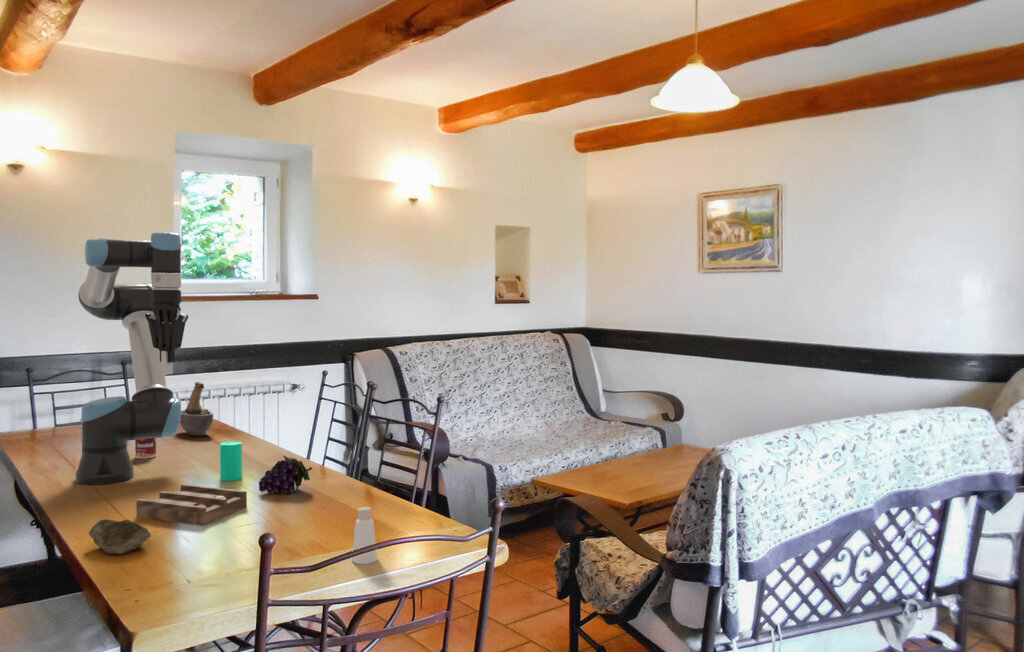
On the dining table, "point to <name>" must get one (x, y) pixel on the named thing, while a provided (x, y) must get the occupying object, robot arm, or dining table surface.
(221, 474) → the candle
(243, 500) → the board
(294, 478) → the fruit
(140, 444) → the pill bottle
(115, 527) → the stone
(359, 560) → the pepper shaker
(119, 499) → the dining table surface
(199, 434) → the grey mortar and pestle
